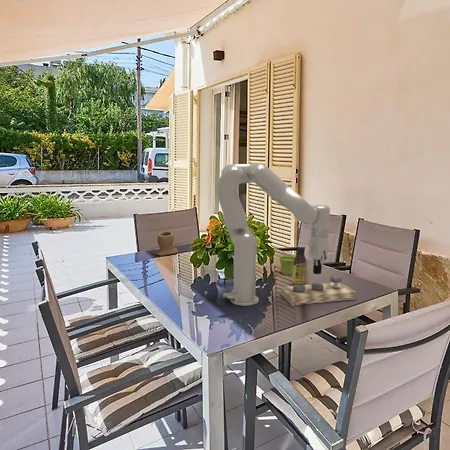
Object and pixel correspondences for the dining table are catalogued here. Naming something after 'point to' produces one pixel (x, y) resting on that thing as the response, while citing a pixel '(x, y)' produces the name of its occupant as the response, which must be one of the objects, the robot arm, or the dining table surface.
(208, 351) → the dining table surface
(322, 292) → the knob mount
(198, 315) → the dining table surface
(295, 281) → the sauce bottle
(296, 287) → the near knob
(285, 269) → the plant pot
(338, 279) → the far knob
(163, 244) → the stone cup
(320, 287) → the middle knob
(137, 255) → the dining table surface
